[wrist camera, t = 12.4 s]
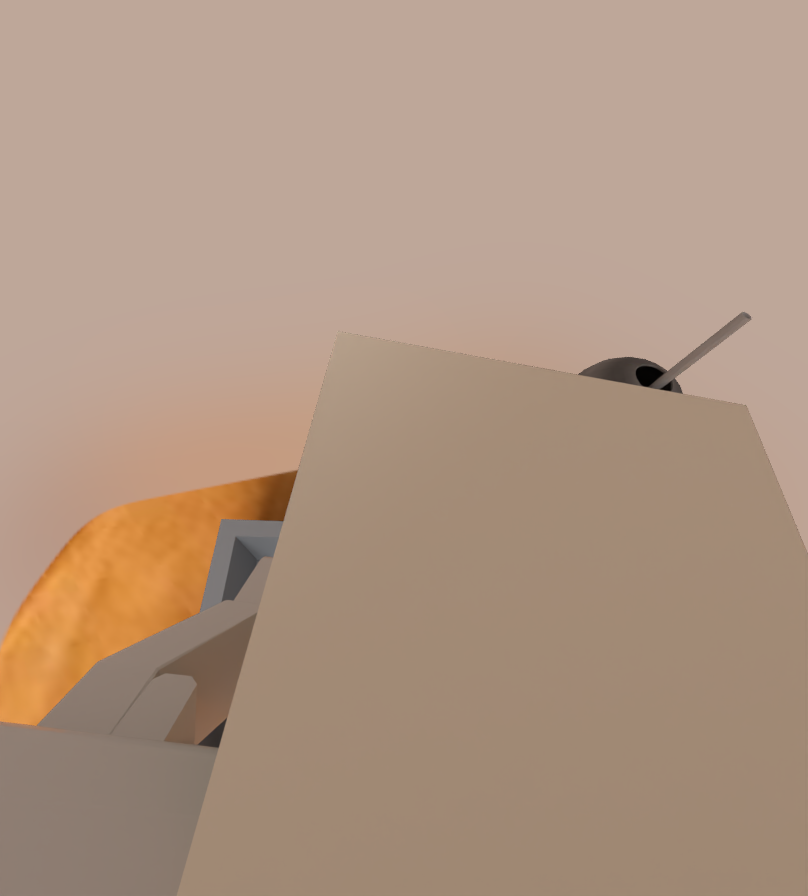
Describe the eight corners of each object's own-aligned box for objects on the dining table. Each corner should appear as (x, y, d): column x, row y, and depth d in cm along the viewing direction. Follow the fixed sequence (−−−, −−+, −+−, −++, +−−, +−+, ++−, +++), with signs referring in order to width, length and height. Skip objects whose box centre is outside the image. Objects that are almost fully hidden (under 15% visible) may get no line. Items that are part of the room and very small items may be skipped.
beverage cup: (491, 453, 36) (622, 257, 18) (563, 453, 37) (753, 267, 19) (506, 529, 32) (685, 375, 15) (586, 527, 33) (841, 380, 16)
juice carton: (459, 588, 17) (751, 400, 5) (453, 734, 14) (1069, 1149, 2) (342, 571, 17) (330, 323, 4) (314, 716, 14) (99, 1081, 2)
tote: (503, 554, 31) (539, 528, 25) (532, 777, 24) (593, 815, 18) (248, 549, 29) (221, 519, 23) (202, 791, 22) (146, 840, 16)
